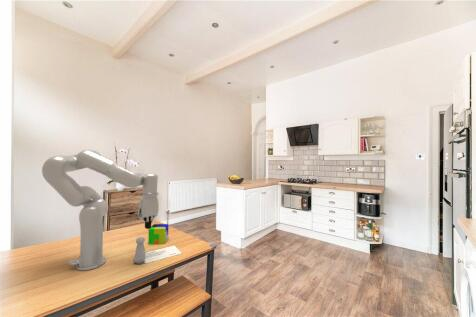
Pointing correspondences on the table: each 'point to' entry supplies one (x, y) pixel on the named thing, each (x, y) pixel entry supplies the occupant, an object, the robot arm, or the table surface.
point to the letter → (161, 254)
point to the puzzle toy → (158, 234)
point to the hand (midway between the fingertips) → (147, 228)
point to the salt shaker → (140, 251)
